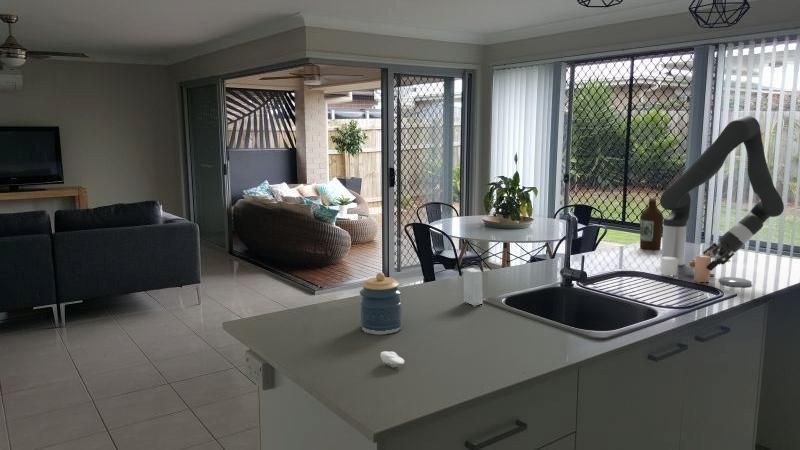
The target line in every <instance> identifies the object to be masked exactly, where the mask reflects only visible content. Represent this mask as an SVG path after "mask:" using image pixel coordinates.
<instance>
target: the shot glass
mask: <svg viewBox="0 0 800 450" xmlns="http://www.w3.org/2000/svg"><path fill="white" fill-rule="evenodd" d="M659 260H660V274H661V275H662V274H664V275H663V276H665V275H676V276H677V271H678V261H679V259H678V258H676V257H670V256H664V257H662V256H661V257H660V259H659Z"/></svg>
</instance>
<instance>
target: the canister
mask: <svg viewBox="0 0 800 450" xmlns="http://www.w3.org/2000/svg"><path fill="white" fill-rule="evenodd" d="M361 286H362V288H361V289H360V290H359V295H360V299H361V300H360V301H359V306H360V307H359V308H360V311H359V312H360V320H359V321H360V322H359V325H360V324H361V326H362V327H364V328H366V329H369V330H375V331H386V330H392V329H396V328H399V327H401V326H402V327H403V317H402V316H403V312H402V311H403V309H402V308H403V306H402V305H403V304H402V303H403V300H402V299H401V295H402V293H403V290H402V289H401V288H400V287H399V286H400V283H399V281H397V280H395V279H394V278H393V277H387V276H385V274H384V272H377V274H376V276H374V277H370V278H367V279H366V280H365V281H364V282H362V283H361ZM361 326H360V327H361Z"/></svg>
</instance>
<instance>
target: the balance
mask: <svg viewBox="0 0 800 450" xmlns="http://www.w3.org/2000/svg"><path fill="white" fill-rule="evenodd" d="M695 259H696V258H693V259H691V260H690V261H689V264H687V265H686V266H685V267H686V268H688V269H694V270H695ZM730 262H731V259H729V260H728V261H727V262H726V263H730ZM713 276H714V277H715V274H714V273H713V272H712V271H710V277H713Z"/></svg>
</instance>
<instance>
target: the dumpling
mask: <svg viewBox="0 0 800 450" xmlns="http://www.w3.org/2000/svg"><path fill="white" fill-rule="evenodd" d="M380 360H381V361H382V362H383V363H384V362H385V363H390V364H394V365H395V364H402V365H403V364H405V359H404V358H402V357H401V356H400V355H398V353H396V352H395V351H381V352H380ZM385 363H384V364H385Z"/></svg>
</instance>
